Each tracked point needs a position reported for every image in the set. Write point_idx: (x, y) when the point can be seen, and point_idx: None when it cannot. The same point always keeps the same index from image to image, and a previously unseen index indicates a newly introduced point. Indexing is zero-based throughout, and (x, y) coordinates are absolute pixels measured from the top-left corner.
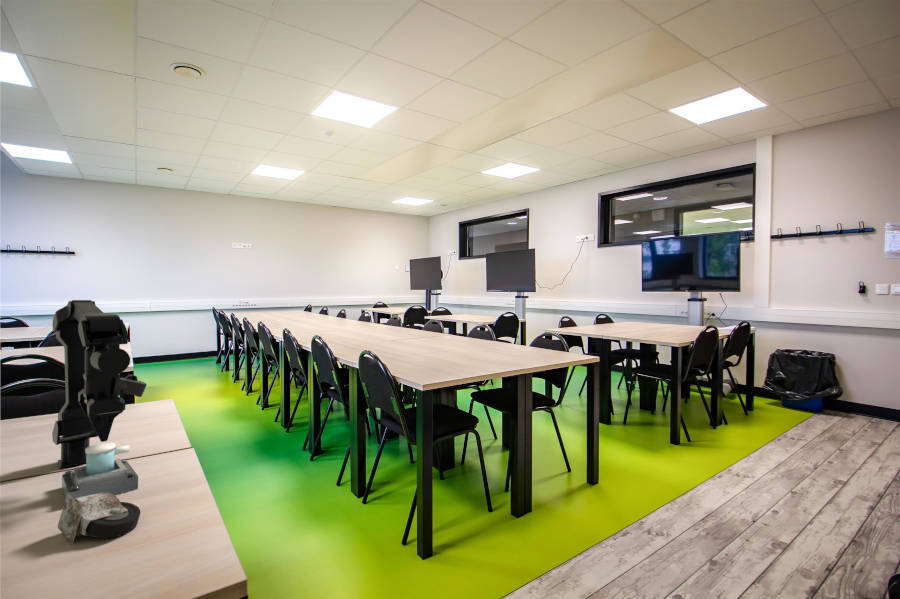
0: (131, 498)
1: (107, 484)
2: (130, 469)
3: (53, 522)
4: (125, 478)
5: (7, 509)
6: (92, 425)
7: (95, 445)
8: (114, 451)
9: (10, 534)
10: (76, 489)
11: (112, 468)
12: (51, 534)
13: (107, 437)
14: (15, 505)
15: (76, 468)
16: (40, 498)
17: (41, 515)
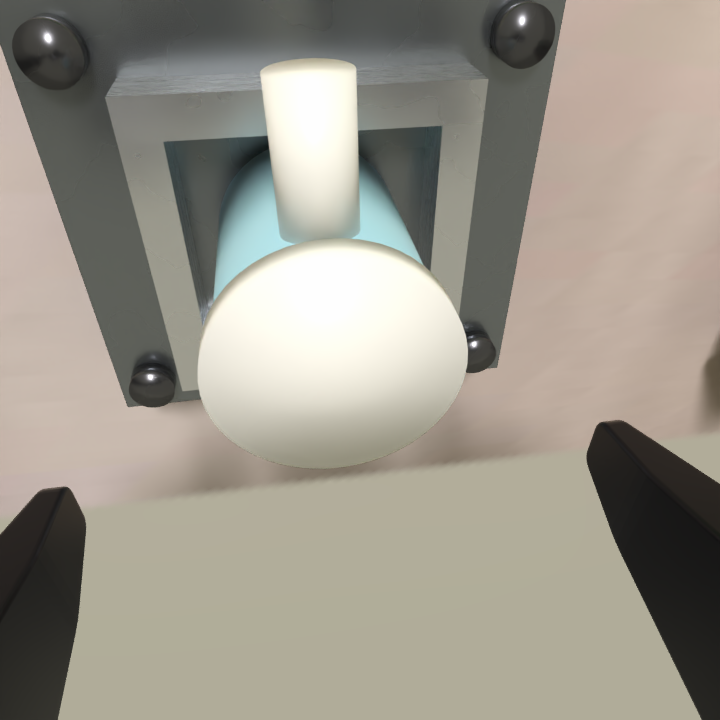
0: (653, 39)
1: (525, 197)
2: (337, 7)
3: (590, 356)
4: (538, 82)
5: (298, 482)
6: (73, 638)
7: (254, 414)
8: (362, 230)
9: (562, 446)
10: (493, 343)
11: (373, 178)
12: (696, 355)
13: (661, 450)
14: (271, 469)
15: (188, 377)
16: None
17: (473, 393)
